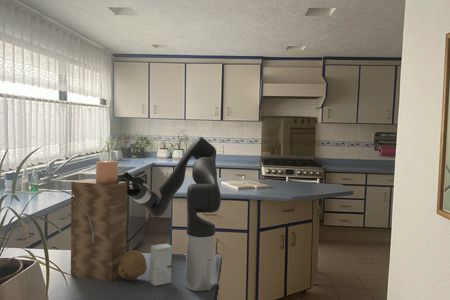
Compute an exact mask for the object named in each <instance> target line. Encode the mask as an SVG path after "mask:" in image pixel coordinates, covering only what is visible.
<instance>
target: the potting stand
mask: <svg viewBox="0 0 450 300" xmlns="http://www.w3.org/2000/svg"><path fill="white" fill-rule="evenodd" d="M70 189H71V190H70V191H71V194H72V195H74V196H75V197H76V198H77V199H79V200H80V202H81V204H82V205H83V206H84V207H85V209H86V210H87V212H88V214H89V216H90V219H91V223H92V227H93V232H94V242H93V243H92V235H91V228H90V222H89V219H88V216H87V214H86V212H85V211H84V209H83V208H82V207H81V205H80V203H79V201H78V200H77V199H76V198H75V197H73V196H71V195H70V196H71V197H70V200H71V201H70V202H71V203H70V206H71V208H70V209H71V210H70V276H73V277H74V276H75V277H81V278H87V279H92V280H98V281H105V282H110V283H111V282H114V281H115V280H116V279H118V278H119V277H121V276H120V275H119V274H118V267H119V264H120V261H121V258H122V257H123V255H124V254H125V253H126V252H127V222H128V221H127V219H128V218H127V217H128V215H127V214H128V212H127V211H128V210H127V209H128V195H127V182H124V181H118V183H113V184H99V183H96V178H95V179H94V178H85V179H79V180H72V181H71V186H70Z"/></svg>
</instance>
